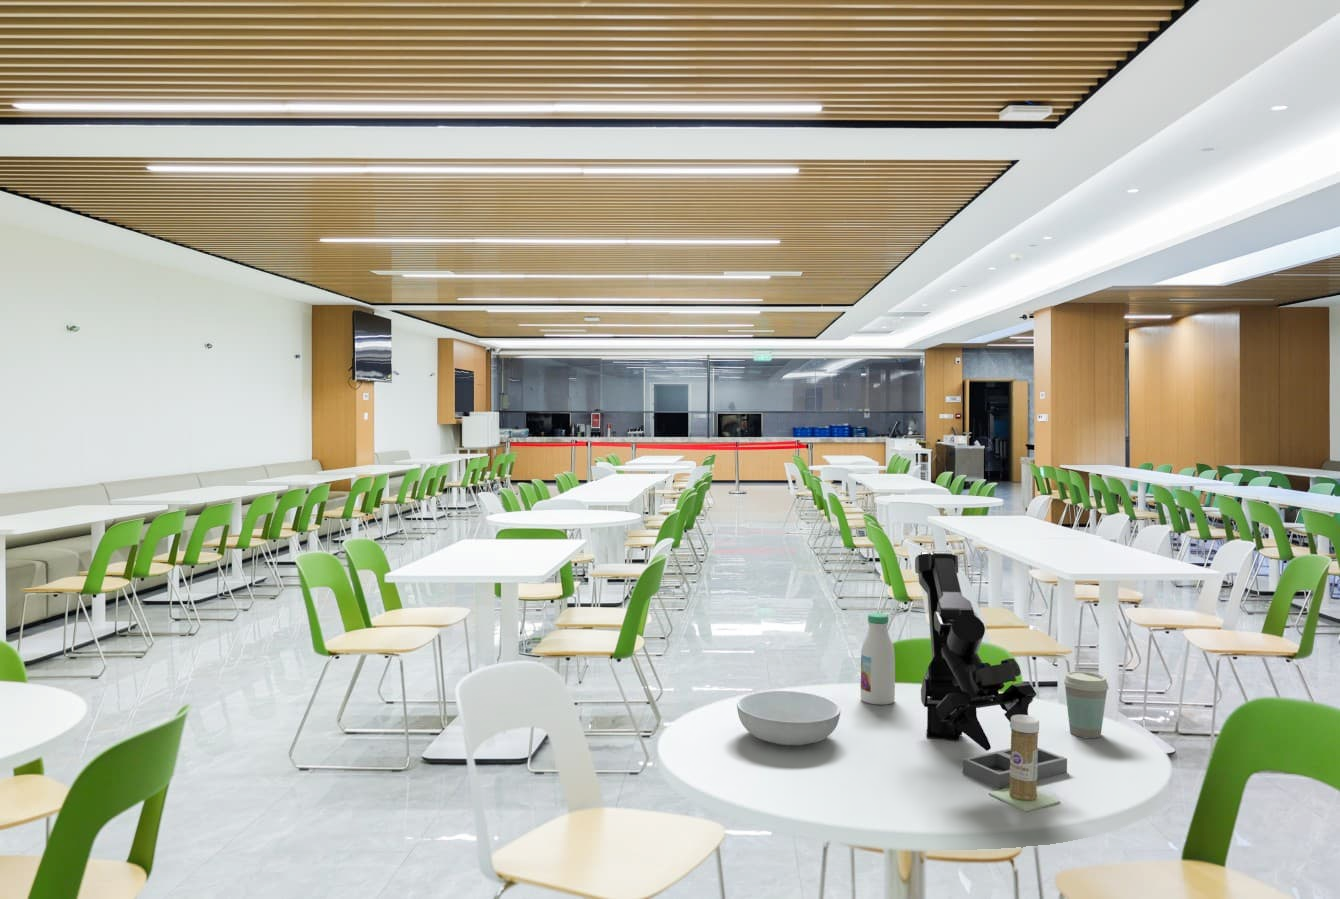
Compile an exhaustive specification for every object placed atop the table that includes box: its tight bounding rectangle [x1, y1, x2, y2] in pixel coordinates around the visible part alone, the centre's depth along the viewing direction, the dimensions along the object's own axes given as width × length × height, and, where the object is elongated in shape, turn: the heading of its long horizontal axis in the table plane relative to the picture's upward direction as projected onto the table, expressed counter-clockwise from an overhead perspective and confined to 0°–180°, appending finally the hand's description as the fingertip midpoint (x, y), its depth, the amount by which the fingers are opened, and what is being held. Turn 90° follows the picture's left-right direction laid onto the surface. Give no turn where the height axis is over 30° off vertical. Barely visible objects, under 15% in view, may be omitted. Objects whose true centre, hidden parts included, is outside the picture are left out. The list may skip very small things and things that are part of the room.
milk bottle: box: [860, 613, 896, 706], centre depth 210 cm, size 8×8×20 cm
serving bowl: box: [736, 690, 841, 746], centre depth 184 cm, size 21×21×7 cm
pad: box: [988, 787, 1061, 813], centre depth 154 cm, size 8×8×1 cm
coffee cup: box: [1063, 671, 1110, 739], centre depth 187 cm, size 8×8×12 cm
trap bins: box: [961, 746, 1068, 790], centre depth 166 cm, size 17×9×2 cm, turn 117°
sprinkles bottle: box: [1009, 714, 1040, 801], centre depth 154 cm, size 5×5×14 cm
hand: (1009, 745), depth 158 cm, fingers open, 9 cm apart
